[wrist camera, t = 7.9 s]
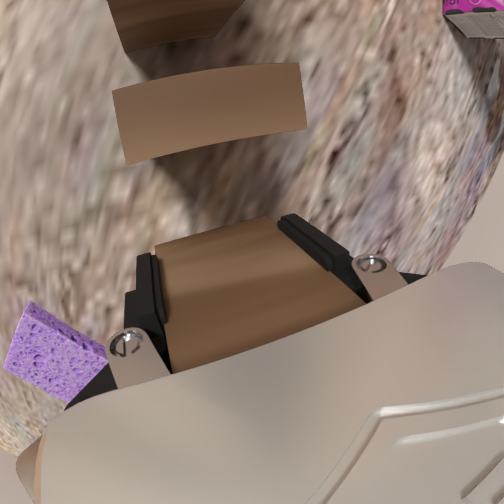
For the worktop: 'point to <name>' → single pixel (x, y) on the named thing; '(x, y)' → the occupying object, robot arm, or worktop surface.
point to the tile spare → (242, 292)
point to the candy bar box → (476, 17)
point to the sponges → (53, 354)
